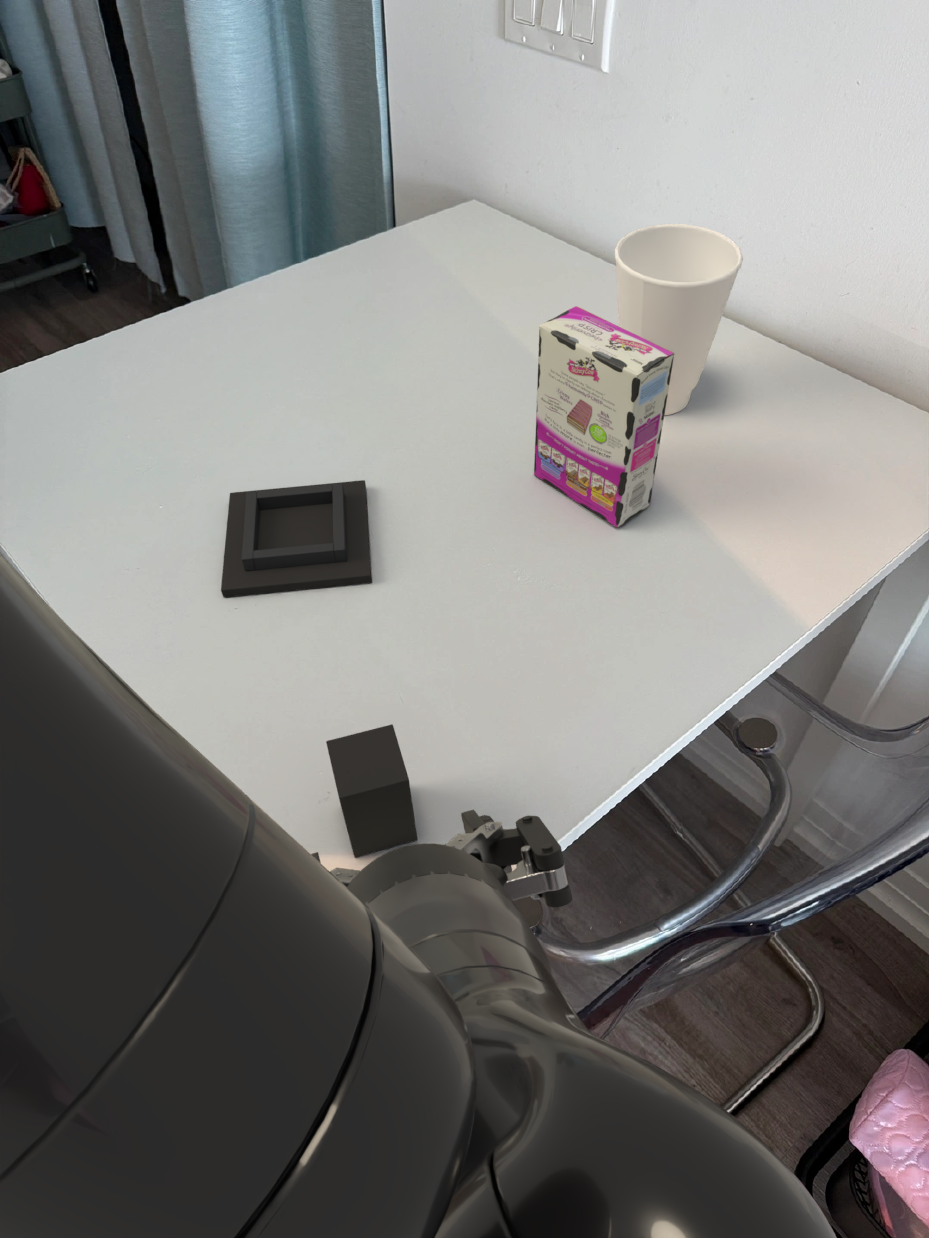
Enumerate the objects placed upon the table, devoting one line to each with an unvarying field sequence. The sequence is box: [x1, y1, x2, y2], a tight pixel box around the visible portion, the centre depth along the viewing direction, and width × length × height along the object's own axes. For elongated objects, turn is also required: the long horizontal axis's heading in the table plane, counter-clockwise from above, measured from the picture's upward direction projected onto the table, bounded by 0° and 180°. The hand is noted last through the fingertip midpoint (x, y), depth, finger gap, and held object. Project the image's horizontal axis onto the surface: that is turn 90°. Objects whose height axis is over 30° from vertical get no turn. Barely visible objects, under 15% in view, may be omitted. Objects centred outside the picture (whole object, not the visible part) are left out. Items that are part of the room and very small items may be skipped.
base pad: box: [220, 479, 373, 598], centre depth 83 cm, size 13×13×2 cm
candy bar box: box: [533, 305, 675, 528], centre depth 81 cm, size 11×5×16 cm, turn 43°
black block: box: [325, 723, 418, 858], centre depth 61 cm, size 4×4×8 cm
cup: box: [614, 223, 744, 416], centre depth 91 cm, size 12×12×16 cm
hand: (393, 849), depth 49 cm, fingers open, 8 cm apart
